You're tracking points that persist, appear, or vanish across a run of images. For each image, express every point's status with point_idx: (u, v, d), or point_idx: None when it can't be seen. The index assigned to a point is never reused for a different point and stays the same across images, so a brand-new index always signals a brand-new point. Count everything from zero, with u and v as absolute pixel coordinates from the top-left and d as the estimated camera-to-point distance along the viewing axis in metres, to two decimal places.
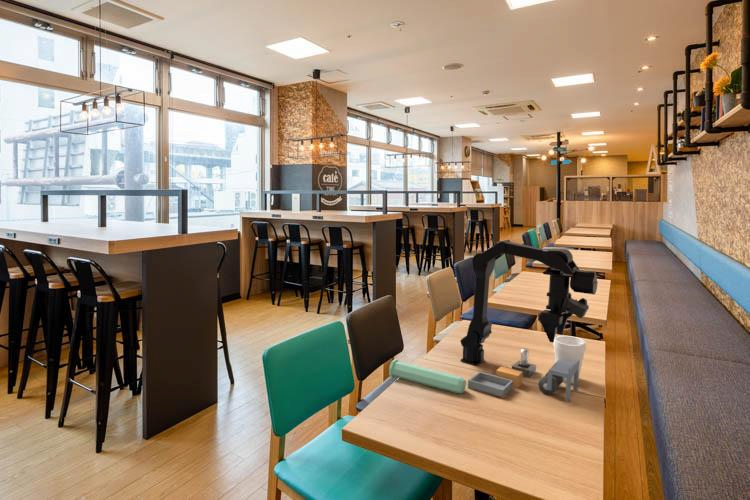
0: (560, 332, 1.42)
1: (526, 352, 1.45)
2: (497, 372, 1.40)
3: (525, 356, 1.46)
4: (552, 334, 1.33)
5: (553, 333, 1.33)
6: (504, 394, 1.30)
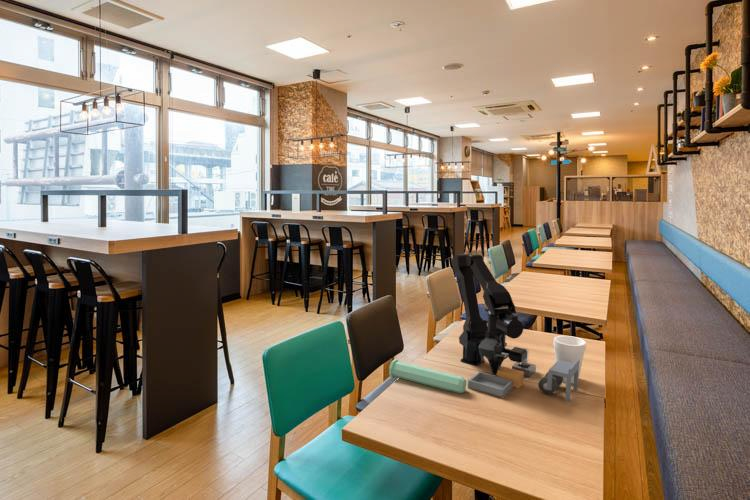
0: None
1: None
2: (498, 372, 1.40)
3: None
4: None
5: None
6: (504, 394, 1.30)
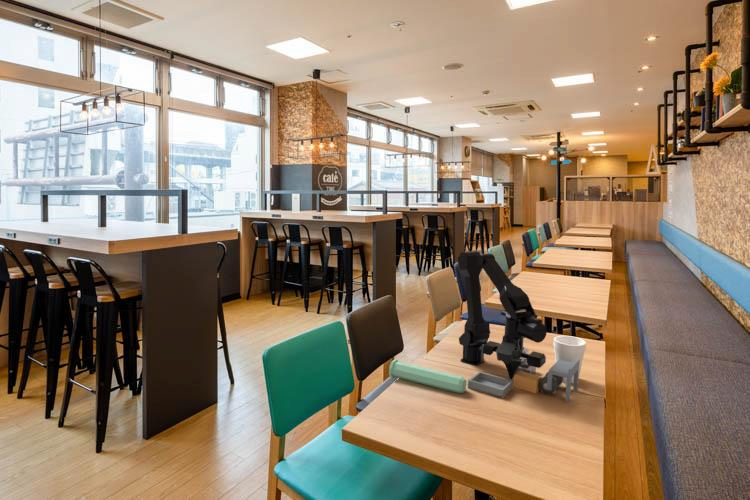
0: None
1: (526, 352, 1.45)
2: (515, 376, 1.36)
3: None
4: None
5: None
6: (504, 394, 1.30)
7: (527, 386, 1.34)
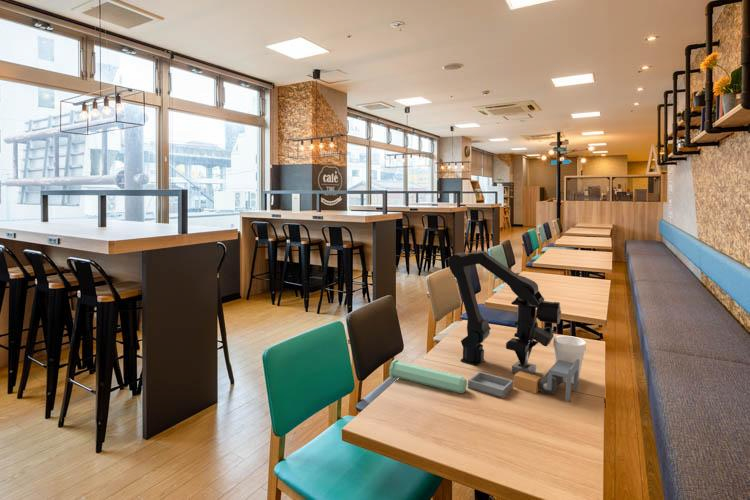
0: None
1: None
2: (515, 377, 1.36)
3: None
4: (522, 358, 1.45)
5: (524, 357, 1.44)
6: (504, 394, 1.30)
7: (527, 386, 1.34)
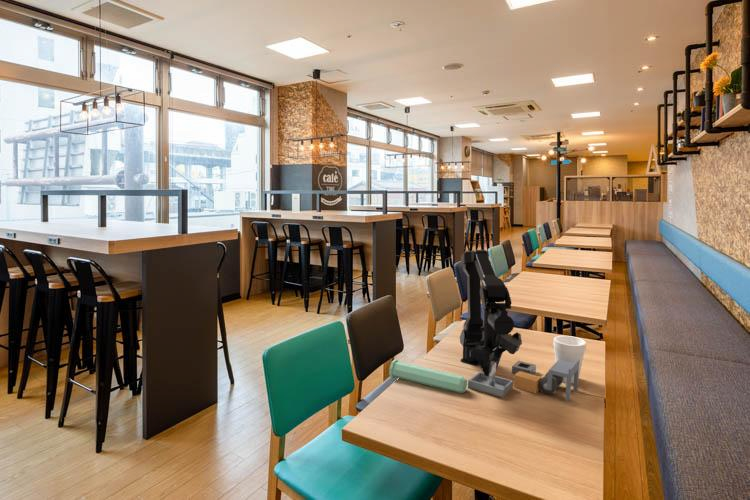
0: None
1: (493, 365, 1.33)
2: (515, 377, 1.36)
3: (492, 369, 1.34)
4: (486, 368, 1.32)
5: (488, 367, 1.31)
6: (504, 394, 1.30)
7: (527, 386, 1.34)
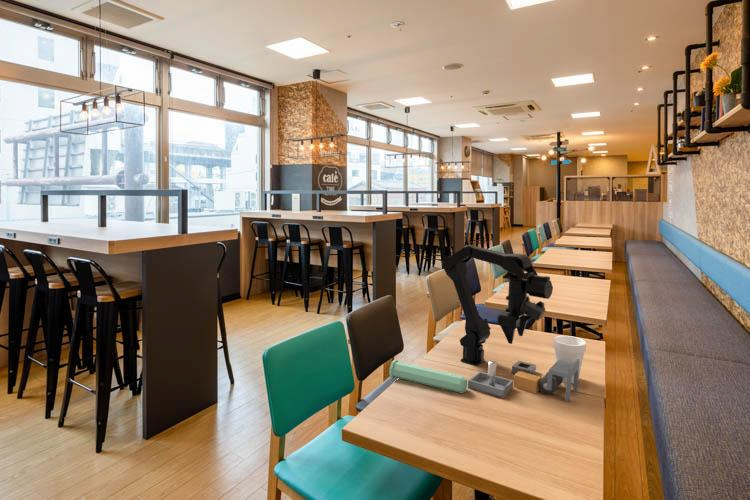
0: (520, 334, 1.48)
1: (493, 365, 1.34)
2: (515, 377, 1.36)
3: (492, 369, 1.34)
4: (510, 336, 1.40)
5: (511, 335, 1.39)
6: (504, 394, 1.30)
7: (527, 386, 1.34)
